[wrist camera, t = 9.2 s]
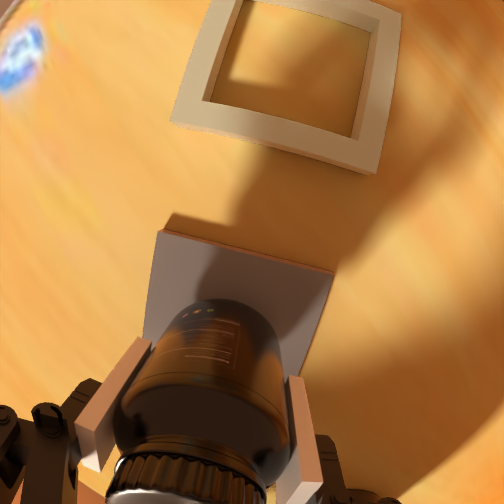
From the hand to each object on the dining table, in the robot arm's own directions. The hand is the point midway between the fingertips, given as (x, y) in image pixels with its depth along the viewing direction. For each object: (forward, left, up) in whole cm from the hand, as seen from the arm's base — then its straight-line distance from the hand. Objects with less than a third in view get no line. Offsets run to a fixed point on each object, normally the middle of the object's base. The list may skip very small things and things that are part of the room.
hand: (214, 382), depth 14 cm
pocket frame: (0, -18, -6) cm, 19 cm away
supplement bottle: (0, 0, -4) cm, 4 cm away
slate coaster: (0, 0, -6) cm, 6 cm away
